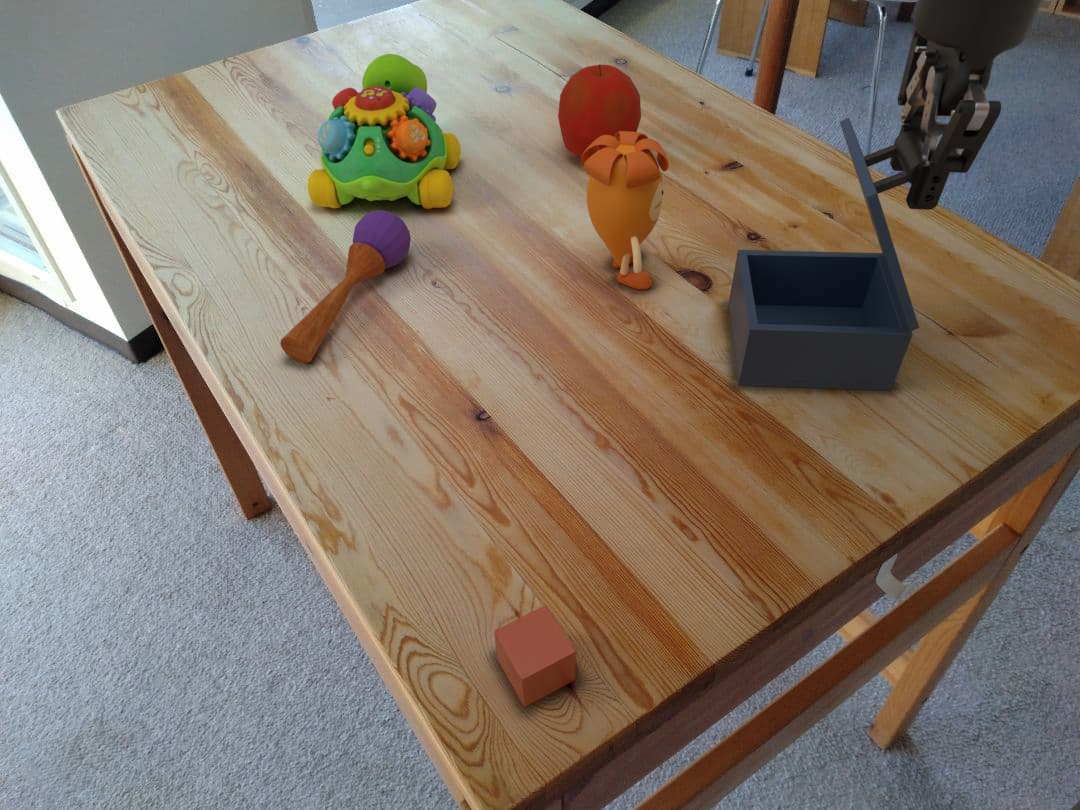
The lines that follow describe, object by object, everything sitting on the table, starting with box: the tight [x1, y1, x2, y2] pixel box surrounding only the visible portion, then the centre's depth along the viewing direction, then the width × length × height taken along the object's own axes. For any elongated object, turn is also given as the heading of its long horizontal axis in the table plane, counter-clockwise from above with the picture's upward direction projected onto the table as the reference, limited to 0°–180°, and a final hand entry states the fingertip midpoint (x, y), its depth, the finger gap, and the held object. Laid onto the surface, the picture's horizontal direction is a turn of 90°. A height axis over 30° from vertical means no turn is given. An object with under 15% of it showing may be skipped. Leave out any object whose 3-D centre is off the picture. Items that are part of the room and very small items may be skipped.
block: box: [493, 604, 577, 708], centre depth 57 cm, size 4×4×4 cm
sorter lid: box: [839, 117, 924, 332], centre depth 70 cm, size 14×12×5 cm
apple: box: [557, 64, 642, 160], centre depth 102 cm, size 10×10×12 cm
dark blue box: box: [727, 249, 914, 392], centre depth 78 cm, size 14×12×7 cm
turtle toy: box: [307, 53, 462, 210], centre depth 100 cm, size 17×23×12 cm
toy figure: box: [580, 131, 670, 291], centre depth 84 cm, size 12×8×15 cm
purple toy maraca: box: [279, 209, 412, 364], centre depth 86 cm, size 6×6×20 cm
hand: (911, 186), depth 68 cm, fingers closed on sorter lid, 5 cm apart
